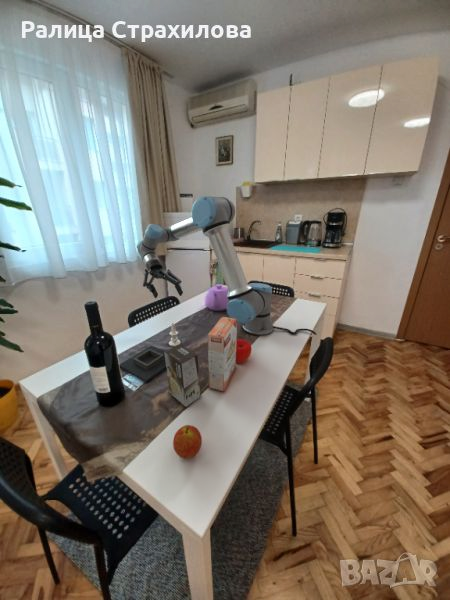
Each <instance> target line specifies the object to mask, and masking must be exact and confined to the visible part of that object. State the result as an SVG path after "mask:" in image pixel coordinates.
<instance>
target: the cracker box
mask: <svg viewBox="0 0 450 600" xmlns="http://www.w3.org/2000/svg"><path fill="white" fill-rule="evenodd" d="M237 331H238V323H237V319H234V318H230V317H228V316H227V317H226V316H222V317H220V319H219V320H218V321H217V322H216V324H215V325H214V327H212V329H211V330H210V332H209V333H208V334H207V354H208V355H207V357H208V361H207V363H208V388H209V389H213V390H217V391H221V392H225V390H226V388H227V386H228V385H229V381H230V380H231V377H232V376H233V373H234V371H235V369H236V340H237V337H238V336H237V334H238V333H237Z"/></svg>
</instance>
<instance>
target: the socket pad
mask: <svg viewBox="0 0 450 600" xmlns="http://www.w3.org/2000/svg"><path fill="white" fill-rule="evenodd" d="M164 352H166V351H164V350H163V349H160V348H158V347H156V346H153V345H150V346H148V347H147V348H145V349H143V350H141V351H140V352H138V353H136V354H134V355H133V356H132V357H129V358H128V359H126V360H125V361H122V362H121V363H120V364H118V366H119V365H120V367H119V368H120V369H122V370H124V371H125V372H127V373H129V374H131V375H132V376H134V377H136V378H137V379H140V380H141V381H143V382H145V383H149V382H150V381H151V380H152V379H154V378H155V377H157V376H158V375H160V374H161V373H163V372H164V371H165V370H167V368H166V360H165V353H164Z"/></svg>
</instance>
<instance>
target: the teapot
mask: <svg viewBox="0 0 450 600" xmlns="http://www.w3.org/2000/svg"><path fill="white" fill-rule="evenodd" d="M228 292H229V290H228V287H227V286H224V285H222V284H220V283H217V284H215V285H214V286H211V287H210V288H209V289H208V291H207V292H206V294H205V297H204V305H205V307H206V308H207V309H209V310H210V311H215V312H221V311H222V312H223V311H227V306H228V303H229V300H228V298H227V294H228Z"/></svg>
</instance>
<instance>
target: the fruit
mask: <svg viewBox="0 0 450 600" xmlns="http://www.w3.org/2000/svg"><path fill="white" fill-rule="evenodd" d="M202 442H203V438H202V434H201V432H200V430H199V428H197V427H196V426H195V425H191V424H186V425H183V426H181V427H180V428H178V429H177V431H176V432H175V434H174V436H173V440H172V443H173V444H172V445H173V450H174V452H175V454H176V455H177V456H178V457H179V458H182V459H192V458H194V457H195V456H196V455H197V454H198V453H199V452H200V450H201V448H202Z"/></svg>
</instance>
